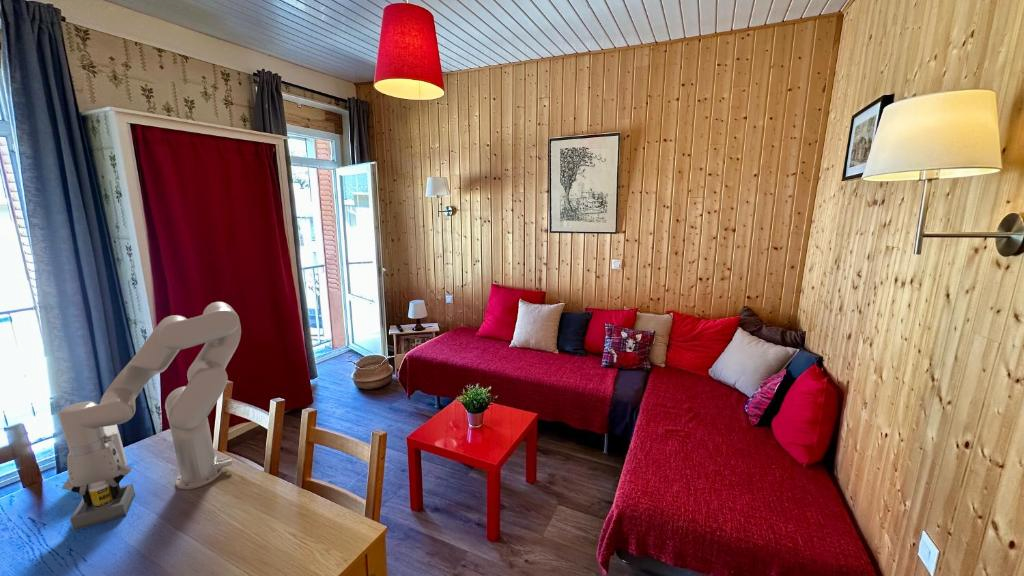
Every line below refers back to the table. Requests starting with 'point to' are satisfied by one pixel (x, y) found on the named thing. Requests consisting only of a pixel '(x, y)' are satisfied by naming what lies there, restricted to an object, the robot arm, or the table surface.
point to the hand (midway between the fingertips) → (103, 499)
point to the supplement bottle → (100, 494)
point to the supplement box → (116, 442)
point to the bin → (103, 510)
